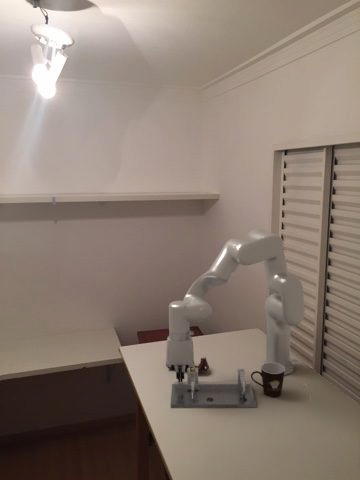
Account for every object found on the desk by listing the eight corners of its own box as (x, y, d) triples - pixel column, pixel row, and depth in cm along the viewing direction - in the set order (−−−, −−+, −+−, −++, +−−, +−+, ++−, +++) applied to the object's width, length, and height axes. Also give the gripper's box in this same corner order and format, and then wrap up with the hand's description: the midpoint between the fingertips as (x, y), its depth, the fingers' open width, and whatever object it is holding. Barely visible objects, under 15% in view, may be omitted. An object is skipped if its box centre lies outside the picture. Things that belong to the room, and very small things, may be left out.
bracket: (207, 371, 168) (204, 345, 171) (167, 374, 173) (164, 349, 175) (210, 369, 174) (207, 345, 176) (172, 373, 179) (169, 349, 181)
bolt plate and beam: (250, 386, 162) (250, 366, 160) (256, 407, 148) (256, 385, 146) (172, 386, 162) (171, 366, 161) (170, 407, 149) (170, 386, 147)
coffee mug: (286, 389, 159) (287, 364, 157) (281, 401, 151) (282, 375, 149) (255, 383, 164) (256, 359, 162) (249, 394, 156) (250, 369, 154)
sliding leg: (198, 383, 161) (198, 364, 159) (198, 399, 151) (198, 378, 149) (187, 383, 161) (187, 364, 159) (187, 399, 151) (187, 378, 149)
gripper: (199, 330, 159) (200, 375, 162) (160, 330, 159) (161, 375, 163) (200, 338, 151) (200, 385, 155) (158, 339, 152) (159, 385, 155)
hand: (180, 380), depth 159 cm, fingers closed
